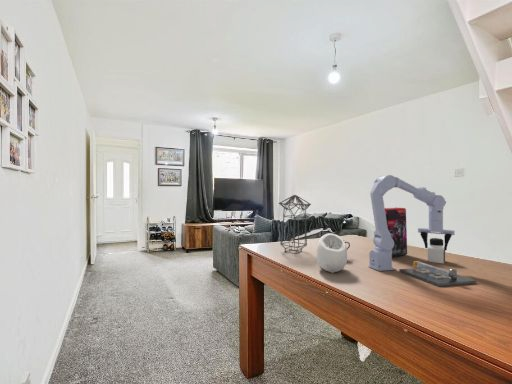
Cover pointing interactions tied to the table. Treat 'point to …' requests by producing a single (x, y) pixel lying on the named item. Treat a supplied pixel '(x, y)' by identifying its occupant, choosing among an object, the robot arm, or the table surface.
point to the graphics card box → (397, 229)
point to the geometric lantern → (294, 222)
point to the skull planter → (331, 253)
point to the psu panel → (436, 277)
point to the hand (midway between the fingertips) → (435, 248)
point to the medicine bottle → (436, 251)
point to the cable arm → (437, 270)
